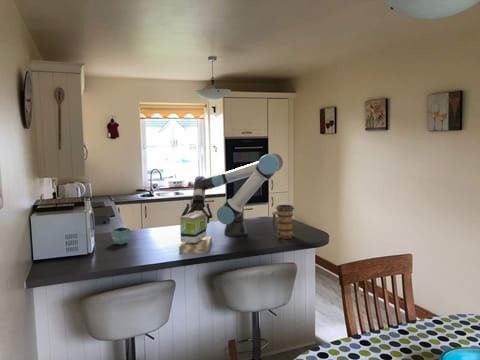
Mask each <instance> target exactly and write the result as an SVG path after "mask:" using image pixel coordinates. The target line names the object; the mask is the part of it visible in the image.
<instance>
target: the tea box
mask: <svg viewBox="0 0 480 360" xmlns="http://www.w3.org/2000/svg"><path fill="white" fill-rule="evenodd" d="M179 223H180V224H179V227H180V232H179V233H180V242H181V243H182V242H189V243H196V242H197V241H199V240H201V239H202V238H204V237H206V236H207V229H206V228H205V223H206V213H203V212H193V213H189V214H187V215H184V216H180V217H179Z"/></svg>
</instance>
